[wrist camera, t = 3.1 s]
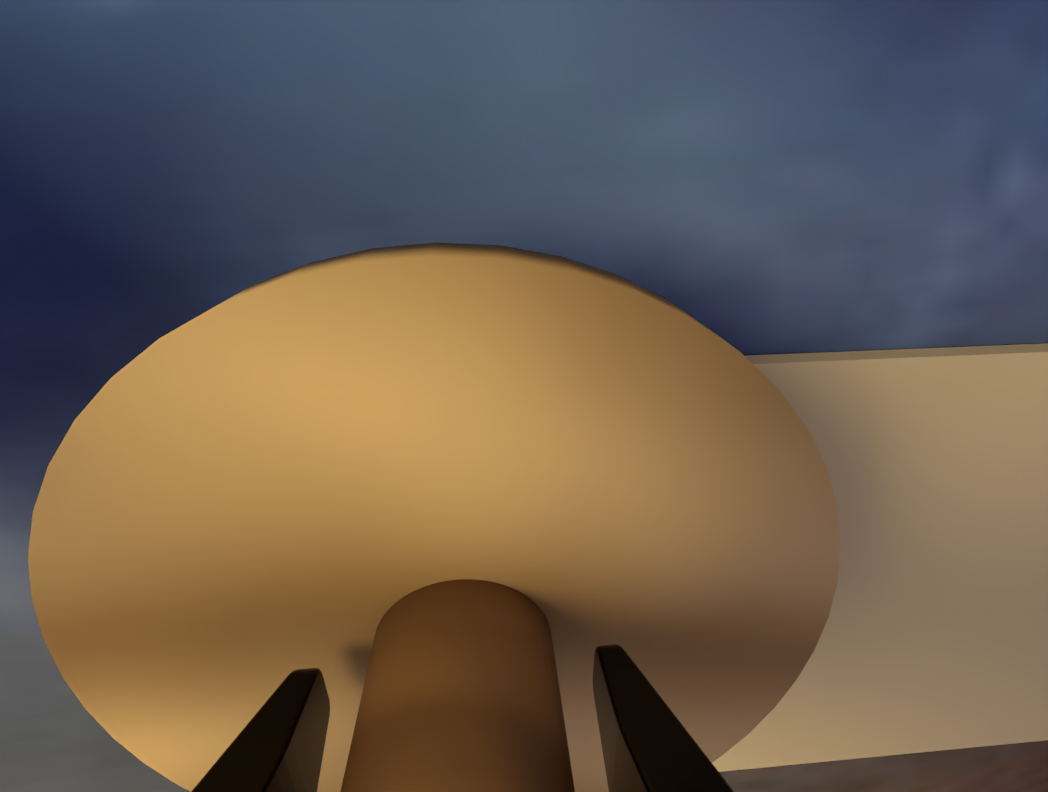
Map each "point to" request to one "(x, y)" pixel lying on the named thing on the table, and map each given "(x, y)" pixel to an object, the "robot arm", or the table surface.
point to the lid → (433, 523)
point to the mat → (922, 555)
